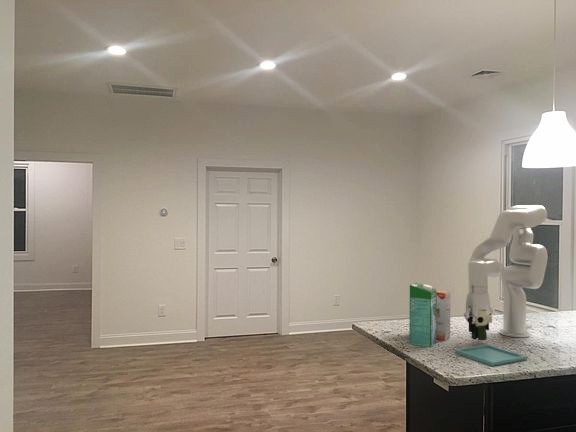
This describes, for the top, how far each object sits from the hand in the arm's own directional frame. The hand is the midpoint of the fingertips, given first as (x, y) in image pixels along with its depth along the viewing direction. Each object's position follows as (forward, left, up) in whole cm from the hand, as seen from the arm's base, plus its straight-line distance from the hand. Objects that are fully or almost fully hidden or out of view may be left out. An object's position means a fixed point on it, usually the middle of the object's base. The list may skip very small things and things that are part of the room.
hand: (478, 330), depth 198 cm
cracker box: (+11, -16, -5) cm, 20 cm away
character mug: (0, 0, -4) cm, 4 cm away
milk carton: (+22, -10, -5) cm, 25 cm away
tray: (+12, +16, -5) cm, 21 cm away
